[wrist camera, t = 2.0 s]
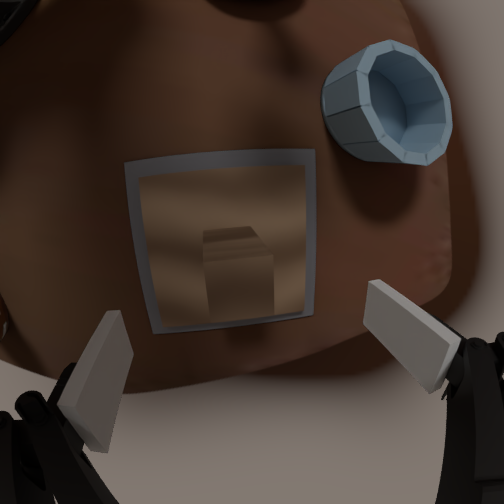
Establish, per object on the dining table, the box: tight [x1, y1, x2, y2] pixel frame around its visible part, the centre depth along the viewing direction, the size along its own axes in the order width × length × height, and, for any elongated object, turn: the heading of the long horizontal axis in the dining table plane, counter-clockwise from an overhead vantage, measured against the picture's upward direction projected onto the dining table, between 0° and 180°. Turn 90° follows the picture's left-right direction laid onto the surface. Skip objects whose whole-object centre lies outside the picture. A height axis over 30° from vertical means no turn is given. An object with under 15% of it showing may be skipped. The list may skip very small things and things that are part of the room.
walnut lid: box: [138, 165, 306, 327], centre depth 20 cm, size 14×14×9 cm
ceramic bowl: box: [320, 40, 452, 166], centre depth 20 cm, size 11×11×7 cm
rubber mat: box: [124, 149, 316, 334], centre depth 25 cm, size 17×17×1 cm
